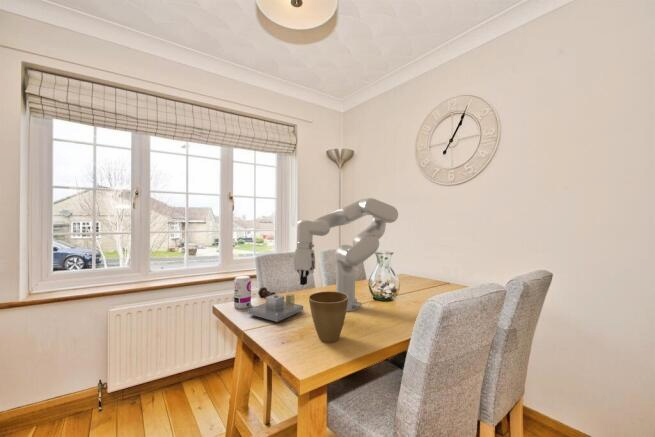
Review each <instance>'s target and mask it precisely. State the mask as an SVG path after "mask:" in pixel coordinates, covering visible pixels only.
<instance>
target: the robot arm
mask: <svg viewBox="0 0 655 437" xmlns="http://www.w3.org/2000/svg"><path fill="white" fill-rule="evenodd" d="M365 216H371V217H372V220H371V223H370V225H368V226H367V227H366V228H364V230H362V231H361V232H360V233H358V234H357V235H355V236H354V238H353V239H352V245H350V244H349V245H348V244H341V245H339V246H338V247H337V249H336V250H335V254H334V258H335V268H336V272H335V273H336V275H335V276H336V277H335V280H336V281H335V284H336V286H335V288H336V290H335V292H341V293H344V294H346V295H348V304H347V310H346V312H352V311H355V310H357V309H359V308H362V306H363V304H362V302H360V301H358V299H357V298H356V267H358V266H360V265H361V264H363V263H364V262H365V261H366V260H368V259H369V258H370V257H371V256H373V255H374V254H375V253H376V252H377V251H378V250H379V247H380V241H379V240H380V239H381V238H382V237H383V236H384V234H385V231H386V227H387V226H386V225H387V224H392V223H394V222H396V221H397V219H398V218H399V211H398V209H397V207H395V206H393V205H391V204H388V203H386V202H384V201H381V200H378V199H376V198H373V197H369V198H368V197H367V198H362V199H359V200H357V201H354V202H352V203H350V204H348V205H346V206H343V207H342V208H340V209H337V210H335V211H332V212H329V213H327V214H325V215H322V216H320V217H318V218H315V219H314V220H309V219H308V220H307V219H306V220H304V219H301V220H298V221H297V223H296V248H295V251H294V256H293V268H294V271H295V272H296V273H298V275H299V278H300V280H299V285H302V286H305V285H307V284H308V276H309V275H310V274H311V275H312V274H313V273H314V270H315V269H316V254H315V249H313V248H314V247H315V244H314V243H313V238H314V237H313V236H320V237H323V236H324V237H325V236H327V235H328V234H329V233H330V231H331V229H332V228H335V227H338V226H346V225H349V224H351V223H352V222H355V221H357V220H359V219H361V218H363V217H365Z"/></svg>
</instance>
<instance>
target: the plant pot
mask: <svg viewBox="0 0 655 437" xmlns="http://www.w3.org/2000/svg"><path fill="white" fill-rule="evenodd" d="M308 302H309V309H310V313H311V317H312V321H313V326H314V328H315V331H316V334H317V337H318V340H320V342H323V343H335V342H337V341H338V340H339V339H340V336H341V333H342V330H343V326H344V324H345V323H344V322H345V320H346V319H345V318H346V314H347V311H346V310H347V304H348V295H346V294H344V293H341V292H336V291H332V290H331V291H330V290H329V291H327V290H326V291H318V292H314V293H312V294H310V295H309V296H308Z"/></svg>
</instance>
